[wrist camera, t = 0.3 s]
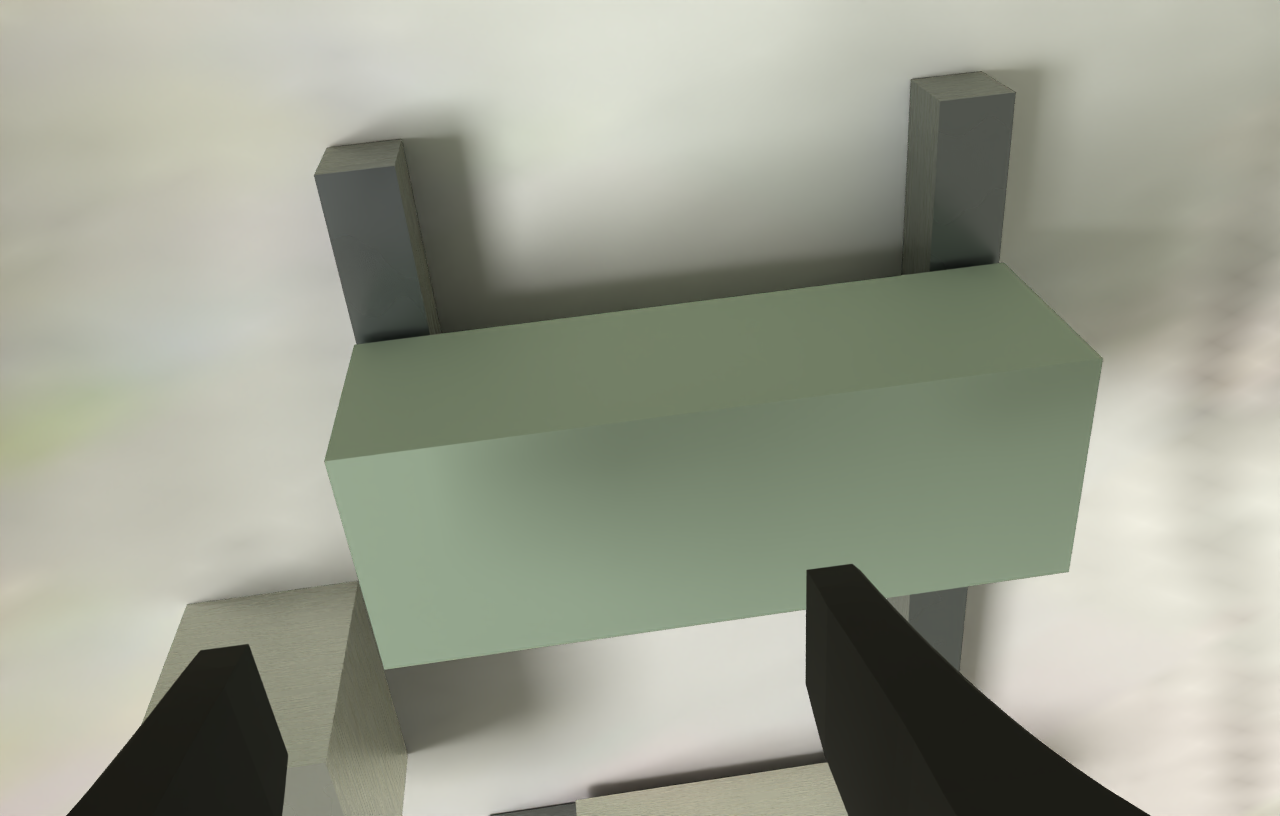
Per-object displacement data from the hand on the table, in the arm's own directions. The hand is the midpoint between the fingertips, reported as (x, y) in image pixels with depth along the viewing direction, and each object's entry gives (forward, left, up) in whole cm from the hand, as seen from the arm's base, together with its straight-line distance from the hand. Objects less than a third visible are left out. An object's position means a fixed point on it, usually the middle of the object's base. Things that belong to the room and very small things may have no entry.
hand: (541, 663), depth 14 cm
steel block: (-9, +7, -10) cm, 15 cm away
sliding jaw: (-1, -3, -10) cm, 10 cm away
